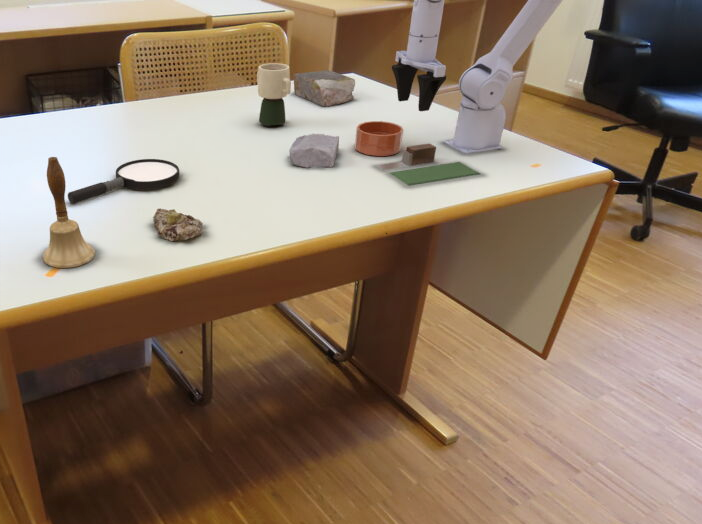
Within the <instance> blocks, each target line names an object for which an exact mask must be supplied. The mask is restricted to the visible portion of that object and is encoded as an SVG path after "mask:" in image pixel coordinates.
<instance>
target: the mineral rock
mask: <svg viewBox="0 0 702 524" xmlns="http://www.w3.org/2000/svg"><path fill="white" fill-rule="evenodd" d="M152 218H153V219H152V220H153V224H154V227H155V229H156V230H157V234H158V236H160V237H159V238H162V239H164V240H169V241H170V242H174V241H178V240H188V239H193V238H195V237H196V236H201V235H202V234H203V229H204V228H203V222H202V221H201V220H200V219H199V218H194V217H193V216H192V215H190V214H188V215H187V214H183V213H181V212H177V211H176V209H169V210H168V209H165V208H157V209H156V210H155V212H154V215H153V217H152Z"/></svg>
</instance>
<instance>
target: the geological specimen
mask: <svg viewBox="0 0 702 524" xmlns="http://www.w3.org/2000/svg"><path fill="white" fill-rule="evenodd" d="M355 86H356V80H355V78H353V77H350V76H347V75H344V74H341V73H338V72H335V71H332V70H319V71H308V72H307V71H306V72H297V73H296V72H295V73H294V74H293V91H294V95H295V96H298V97H300V98H302V99H306V100H308V101H310V102H312V103H314V104H317V105H319V106H321V107H330V106H334V105H340V104H345V103H347V102H349V101H352V100H354V95H353V92H354V90H355Z"/></svg>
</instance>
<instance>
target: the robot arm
mask: <svg viewBox="0 0 702 524" xmlns="http://www.w3.org/2000/svg"><path fill="white" fill-rule="evenodd" d="M563 1H564V0H527V1H526V2H525V4H524V5H523V7H522V8H521V9H520V11H519V12H518V14H517V15H516V16H515V18H514V19H513V21H512V22H511V23H510V24H509V26H508V28H507V29H506V30H505V32H504V33H503V34H502V36H501V37H500V38H499V39H498V41H497V42H496V44H495V45H494V47H493V48H491V49H492V50H491V51H490V52H487V53H486V54H484V55H483V56H481V57H479V58H478V59H477V60H476V62H475V63H474V64H473V65H472V66H470V67H469V68H467V69H466V70H464V72H463V73H462V74H461V76H460V78H459V80H458V91H459V92H460V94H462V95H461V99H460V104H459V109H458V114H457V120H456V125H455V129H454V130H455V131H454V135H453V139H446V140H444V144H446V145H448V146H450V147H451V148H453V149H455V150H457V151H459V152H461V153H463V154H467V155H468V154H473V153H481V152H487V151H494V150H495V151H496V150H501V149H502V148H503V147H502V145H500V144H501V140H502V136H503V132H504V127H505V123H506V116H507V115H506V108H505V107H504V105H502V104H501V102H502V101H503V99H504V97H505V95H506V92H507V88H508V86H509V85H510V84H511V83H512V81H513V78H514V76H513V74H514V73H513V71H514V70H513V69H514V68H513V67H514V66H515V65H516V63H517V62H518V61H519V60H520V58H521V57H522V56H523V54H524V53H525V51H526V50H527V49H528V47H529V46H530V45H531V44H532V42H533V41H534V39H535V38H536V37H537V36H538V34H539V33H540V31H541V30H542V29H543V27H544V26H545V25H546V23H547V22H548V21H549V19H550V18H551V16H552V15H553V14H554V13H555V11H556V10H557V8H558V7H559V6H560V5H561V4H562V2H563ZM444 6H445V0H413V6H412V12H411V18H410V26H409V33H408V39H407V46H406V50H398V51H397V50H396V52H395V60H394V61H395V62H397V64H393V65H391V70H392V72H393V75H394V79H395V83H396V91H397V92H396V93H397V100H398V102H405V101H407V102H408V101H409V99H410V97H411V92H412V87H413V83H414V80H415V77H416V75H417V77H416V79H417V83H418V89H419V90H418V91H419V93H418V95H419V96H418V106H417V107H418V111H419V112H427V111H430V108H431V106H432V104H433V101H434V99H435V97H436V95H437V93H438V91H439V90H440V88H441V86H442V85H443V84H444V83H445V81H446V80H447V75H446V69H447V65H444V64H442V63H441V62H440V61H439V60H438V59H437V58H436V56H437V50H438V44H439V40H440V39H439V38H440V31H441V25H442V20H443V13H444V8H445V7H444ZM419 70H420V71H422V72H425V73H424V74H417V73H418V71H419Z"/></svg>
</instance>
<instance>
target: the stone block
mask: <svg viewBox="0 0 702 524" xmlns="http://www.w3.org/2000/svg"><path fill="white" fill-rule="evenodd" d="M339 146H340V136H339V135H336V136H335V135H334V136H333V135H329V134H324V133H311V134H304V135H302V136H301V135H300V136H298V137H296V138H295V140H294V141H293V142H292V144H291V146H290V148H289V151H288V152H289V159H290V162H291V163H292V164H293V165H294V166H298V167H302V168H306V169H310V168H311V169H312V168H313V167H315V168H333V167H334V165H335V162H336V160H337V159H336V158H337V155H338V151H339Z"/></svg>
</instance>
